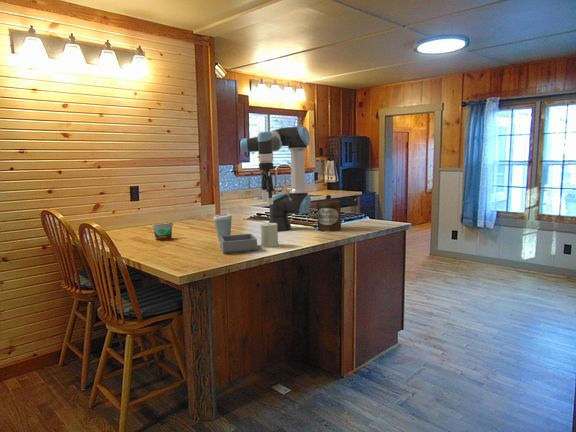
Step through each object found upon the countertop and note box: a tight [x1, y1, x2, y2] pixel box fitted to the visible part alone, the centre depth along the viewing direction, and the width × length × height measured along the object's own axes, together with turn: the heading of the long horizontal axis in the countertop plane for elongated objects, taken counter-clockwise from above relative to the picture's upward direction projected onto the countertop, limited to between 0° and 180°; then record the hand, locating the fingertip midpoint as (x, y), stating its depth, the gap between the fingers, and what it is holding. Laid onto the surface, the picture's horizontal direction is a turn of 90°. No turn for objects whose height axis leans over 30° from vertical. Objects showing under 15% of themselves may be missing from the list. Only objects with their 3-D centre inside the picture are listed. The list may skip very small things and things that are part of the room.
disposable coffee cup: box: [212, 213, 233, 242], centre depth 236 cm, size 11×11×15 cm
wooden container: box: [316, 194, 342, 232], centre depth 259 cm, size 15×15×22 cm
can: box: [259, 222, 279, 248], centre depth 219 cm, size 9×9×12 cm
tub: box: [219, 233, 258, 255], centre depth 213 cm, size 17×17×6 cm
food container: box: [151, 221, 174, 241], centre depth 246 cm, size 12×6×10 cm, turn 112°
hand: (267, 203), depth 216 cm, fingers open, 13 cm apart
